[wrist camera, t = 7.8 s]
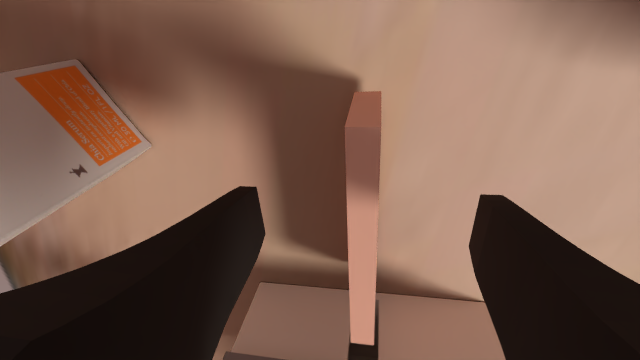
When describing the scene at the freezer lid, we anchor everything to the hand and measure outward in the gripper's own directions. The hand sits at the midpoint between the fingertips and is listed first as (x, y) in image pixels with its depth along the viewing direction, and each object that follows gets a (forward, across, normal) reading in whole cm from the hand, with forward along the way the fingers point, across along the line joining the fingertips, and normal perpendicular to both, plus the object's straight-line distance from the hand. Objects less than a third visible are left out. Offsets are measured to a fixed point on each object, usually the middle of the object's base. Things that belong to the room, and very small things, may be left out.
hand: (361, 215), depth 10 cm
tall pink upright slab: (+6, 0, +3) cm, 7 cm away
